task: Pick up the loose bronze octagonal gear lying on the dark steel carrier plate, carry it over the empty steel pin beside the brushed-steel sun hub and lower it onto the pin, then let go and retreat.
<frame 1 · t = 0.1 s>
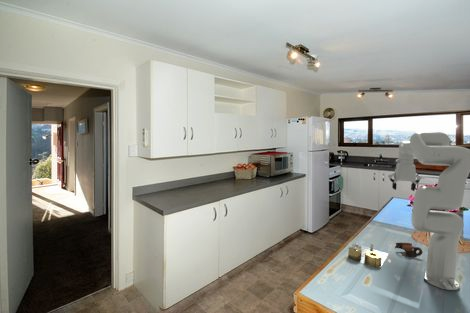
hand: (403, 189, 145), 31 cm above the table, fingers open, 9 cm apart
planet gear: (372, 262, 118), point 1 cm above the table, touching carrier
carrier: (366, 258, 124), on the table
pottery mug: (407, 256, 127), on the table
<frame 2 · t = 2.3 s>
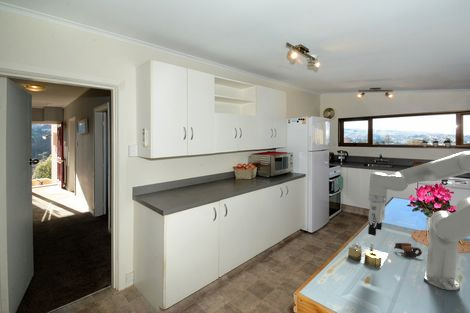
hand: (374, 231, 117), 17 cm above the table, fingers open, 9 cm apart
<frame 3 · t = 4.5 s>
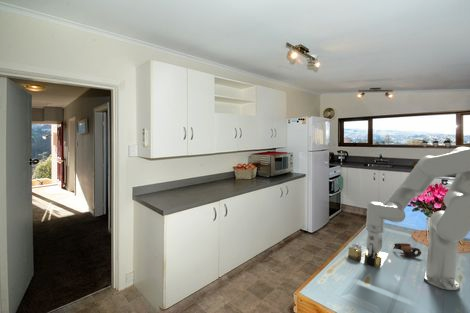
hand: (372, 261, 118), 2 cm above the table, fingers closed on planet gear, 7 cm apart
planet gear: (372, 262, 118), point 1 cm above the table, touching carrier, gripper
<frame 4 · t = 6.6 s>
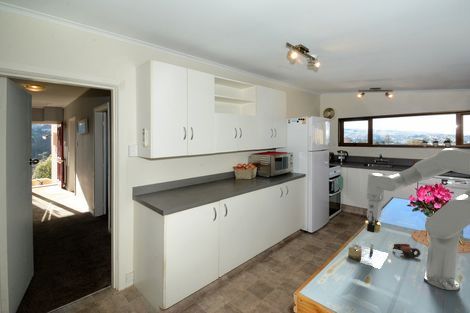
hand: (372, 229, 126), 14 cm above the table, fingers closed on planet gear, 7 cm apart
planet gear: (372, 229, 126), point 14 cm above the table, touching gripper
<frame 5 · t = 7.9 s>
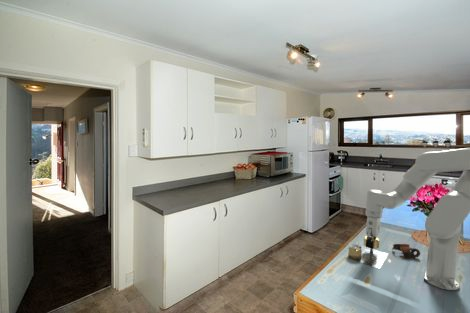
hand: (371, 245, 127), 6 cm above the table, fingers closed on planet gear, 7 cm apart
planet gear: (371, 245, 127), point 5 cm above the table, touching gripper
when the fingers open (3 cm above the table, at t = 8.9 s): planet gear drops 1 cm, resting on carrier.
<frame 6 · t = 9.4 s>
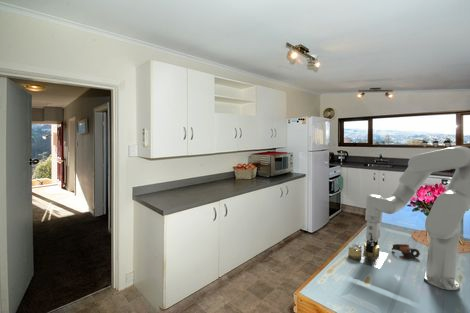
hand: (371, 249, 127), 4 cm above the table, fingers open, 9 cm apart
planet gear: (371, 252, 127), point 1 cm above the table, touching carrier
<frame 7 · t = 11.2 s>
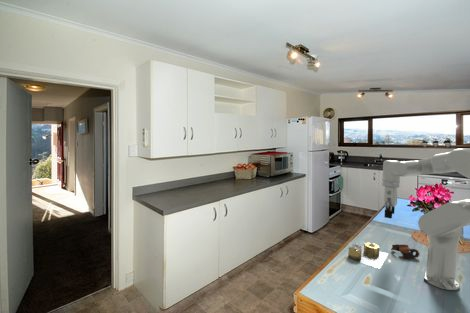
hand: (389, 215, 126), 22 cm above the table, fingers open, 9 cm apart
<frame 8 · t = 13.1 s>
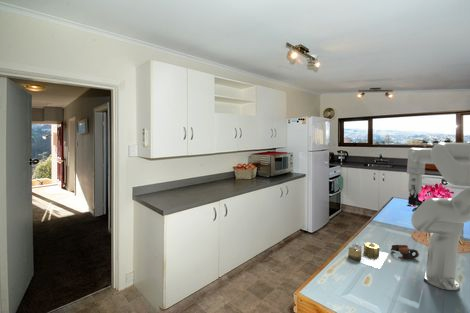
hand: (413, 202, 128), 28 cm above the table, fingers open, 9 cm apart
at the end: planet gear 0.0 cm from the target spot on the carrier, point 1.5 cm above the carrier's base; planet gear tilted 0°; the gripper is holding nothing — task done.
